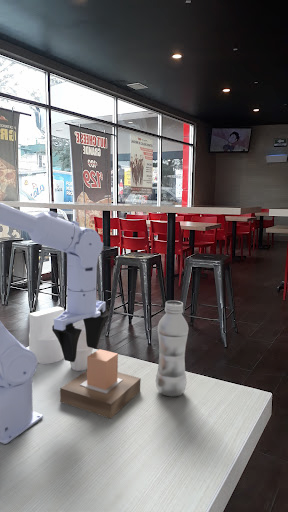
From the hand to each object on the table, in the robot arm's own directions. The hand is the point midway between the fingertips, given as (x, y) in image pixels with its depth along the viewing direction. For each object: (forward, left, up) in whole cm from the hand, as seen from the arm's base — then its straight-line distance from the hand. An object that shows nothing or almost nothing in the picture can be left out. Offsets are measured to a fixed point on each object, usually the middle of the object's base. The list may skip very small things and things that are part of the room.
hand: (81, 353), depth 80 cm
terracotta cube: (+3, -3, -7) cm, 8 cm away
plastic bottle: (+12, -15, -10) cm, 22 cm away
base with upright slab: (+13, +20, -10) cm, 26 cm away
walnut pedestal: (+3, -3, -10) cm, 11 cm away
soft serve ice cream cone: (+12, +9, -10) cm, 18 cm away
